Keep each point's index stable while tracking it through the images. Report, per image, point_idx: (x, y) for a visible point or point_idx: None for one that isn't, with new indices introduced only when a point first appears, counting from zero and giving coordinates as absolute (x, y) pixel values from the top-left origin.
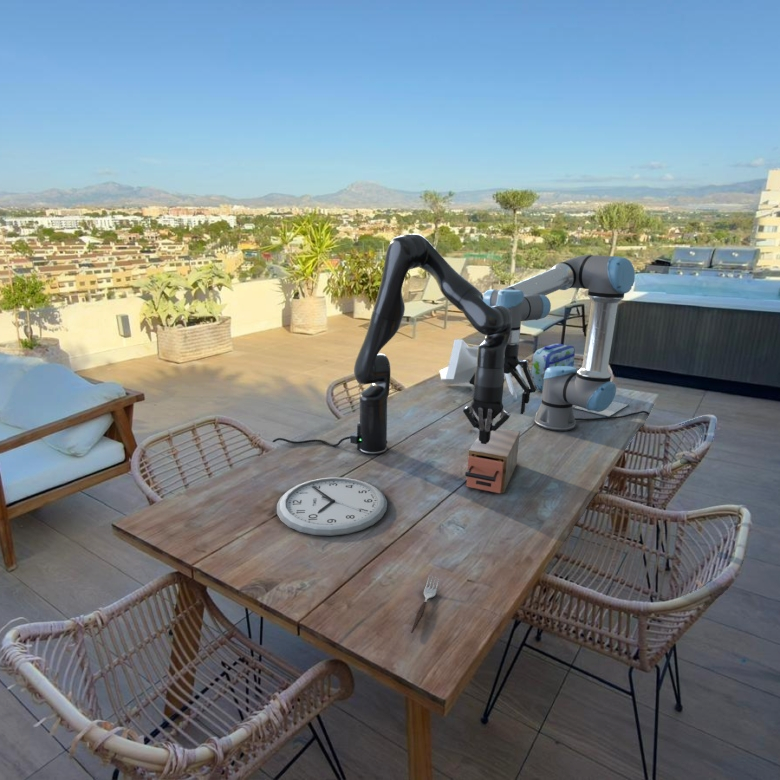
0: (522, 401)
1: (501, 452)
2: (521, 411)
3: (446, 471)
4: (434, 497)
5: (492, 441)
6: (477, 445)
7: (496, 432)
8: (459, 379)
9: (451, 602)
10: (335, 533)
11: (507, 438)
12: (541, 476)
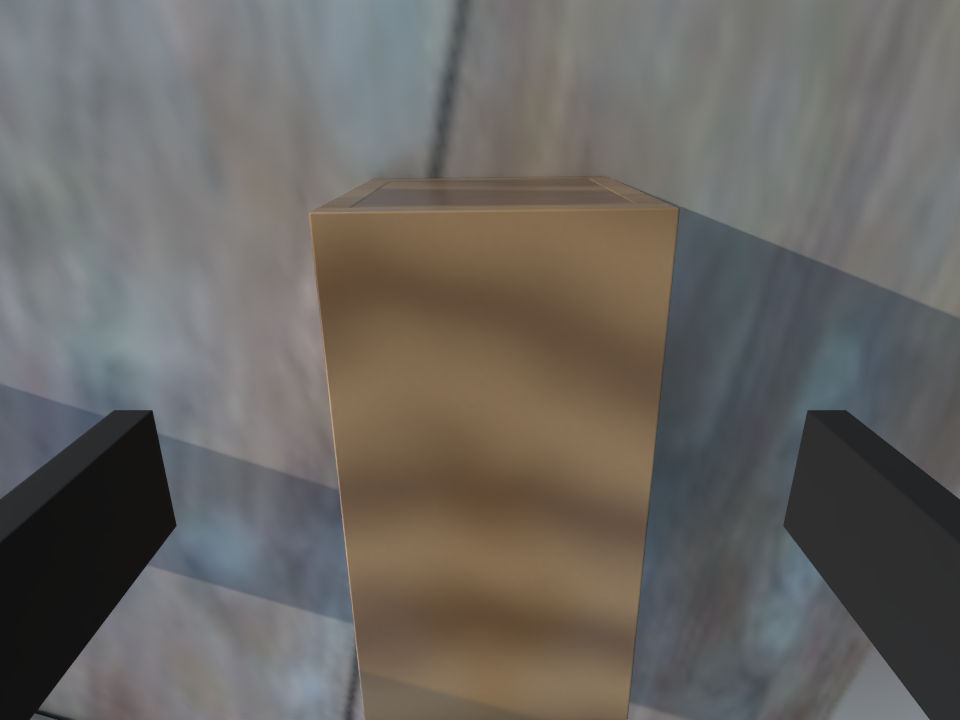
0: (921, 689)
1: (580, 678)
2: (813, 549)
3: (244, 453)
4: (310, 684)
5: (477, 539)
6: (392, 643)
7: (460, 339)
8: None
9: None
10: None
11: (583, 434)
12: (770, 288)
